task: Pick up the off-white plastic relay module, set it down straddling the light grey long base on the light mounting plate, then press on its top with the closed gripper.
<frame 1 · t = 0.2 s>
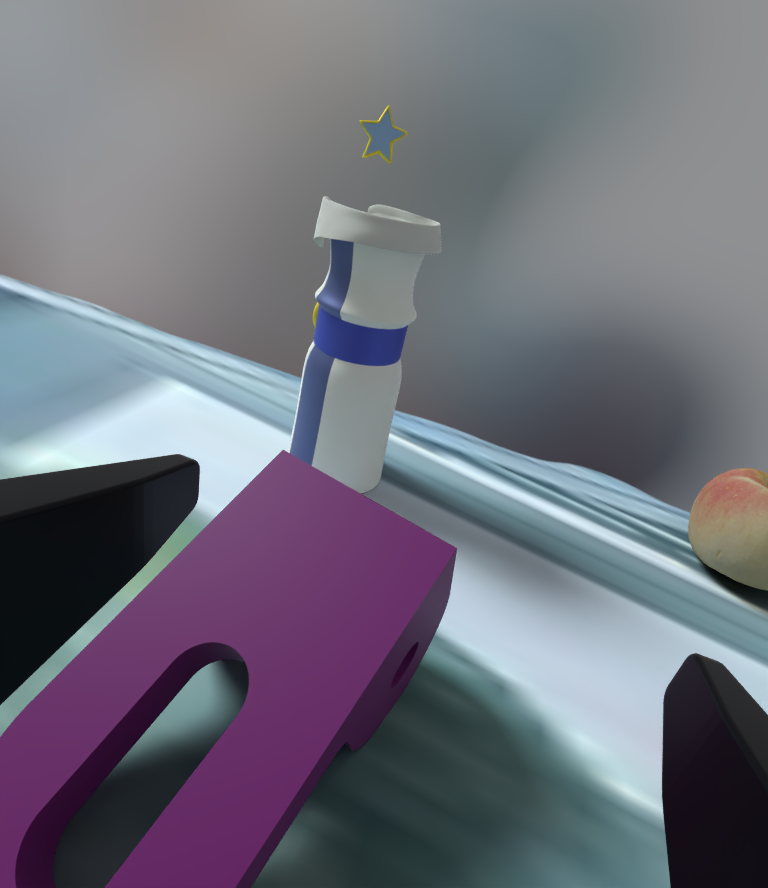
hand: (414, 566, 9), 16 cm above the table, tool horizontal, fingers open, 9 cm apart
mounting bracket: (228, 745, 22), on the table
apple: (727, 572, 41), on the table
water bottle: (330, 468, 42), on the table
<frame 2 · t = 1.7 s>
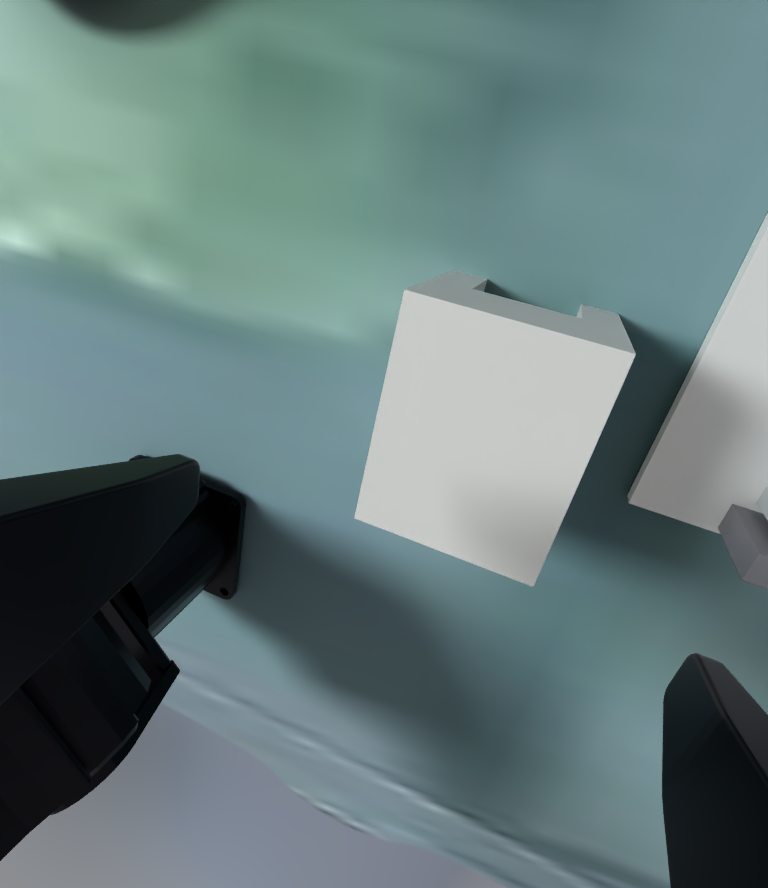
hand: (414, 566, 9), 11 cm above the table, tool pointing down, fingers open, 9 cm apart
relay module: (501, 386, 19), on the table
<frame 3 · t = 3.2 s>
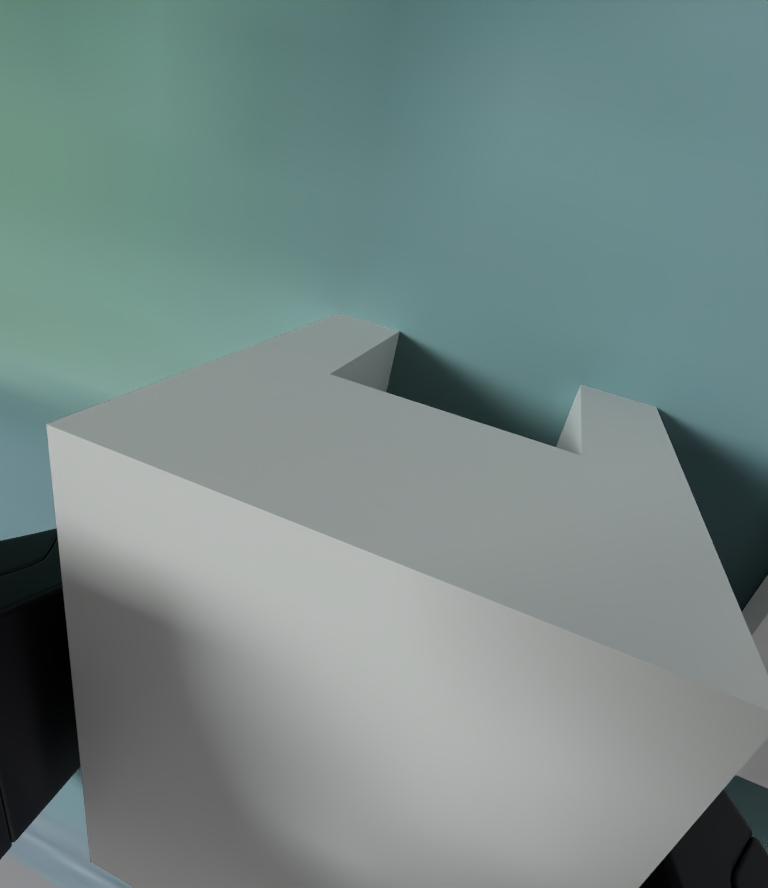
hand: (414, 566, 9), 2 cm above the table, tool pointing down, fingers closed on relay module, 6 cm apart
relay module: (436, 521, 10), on the table, touching gripper
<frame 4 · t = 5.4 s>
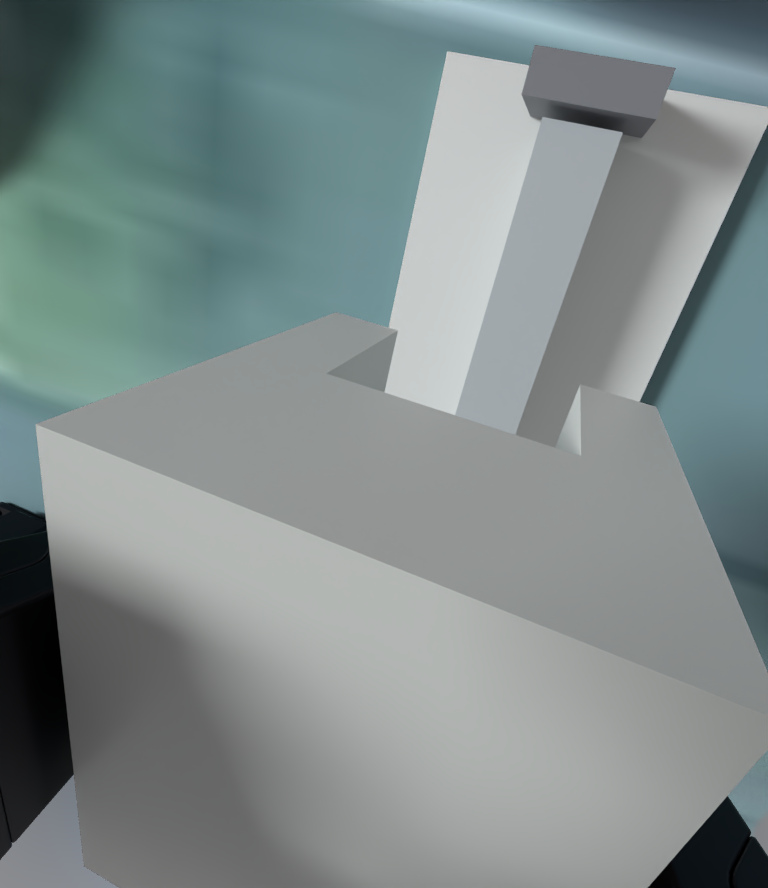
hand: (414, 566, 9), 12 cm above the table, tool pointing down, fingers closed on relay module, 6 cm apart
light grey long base: (500, 386, 19), on the table
relay module: (435, 522, 10), point 10 cm above the table, touching gripper
when the fingers open (4 cm above the table, at t = 7.6 s): relay module drops 1 cm, resting on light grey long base.
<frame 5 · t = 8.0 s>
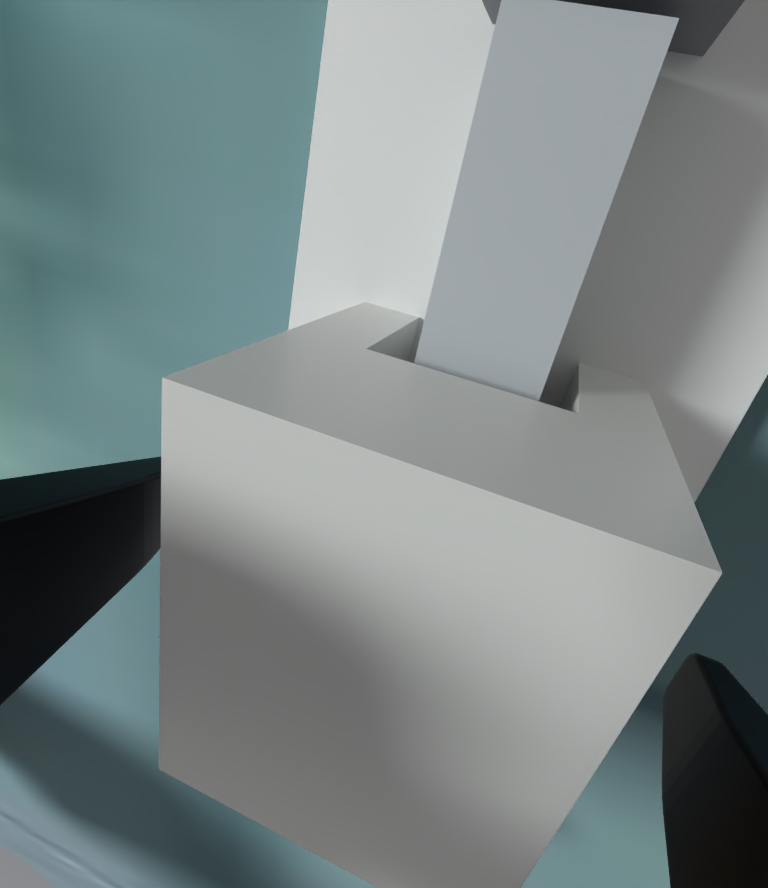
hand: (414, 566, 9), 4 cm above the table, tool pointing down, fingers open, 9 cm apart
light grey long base: (458, 478, 12), on the table
relay module: (450, 488, 12), point 1 cm above the table, touching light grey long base
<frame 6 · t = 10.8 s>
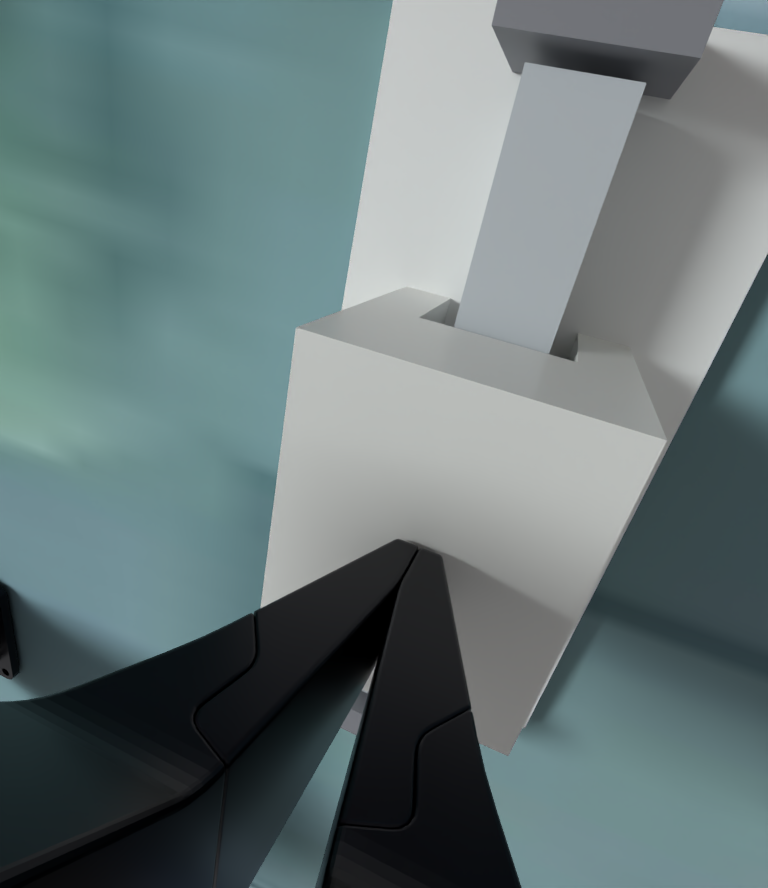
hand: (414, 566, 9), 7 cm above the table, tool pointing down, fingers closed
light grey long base: (478, 433, 15), on the table
relay module: (473, 440, 14), point 1 cm above the table, touching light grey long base
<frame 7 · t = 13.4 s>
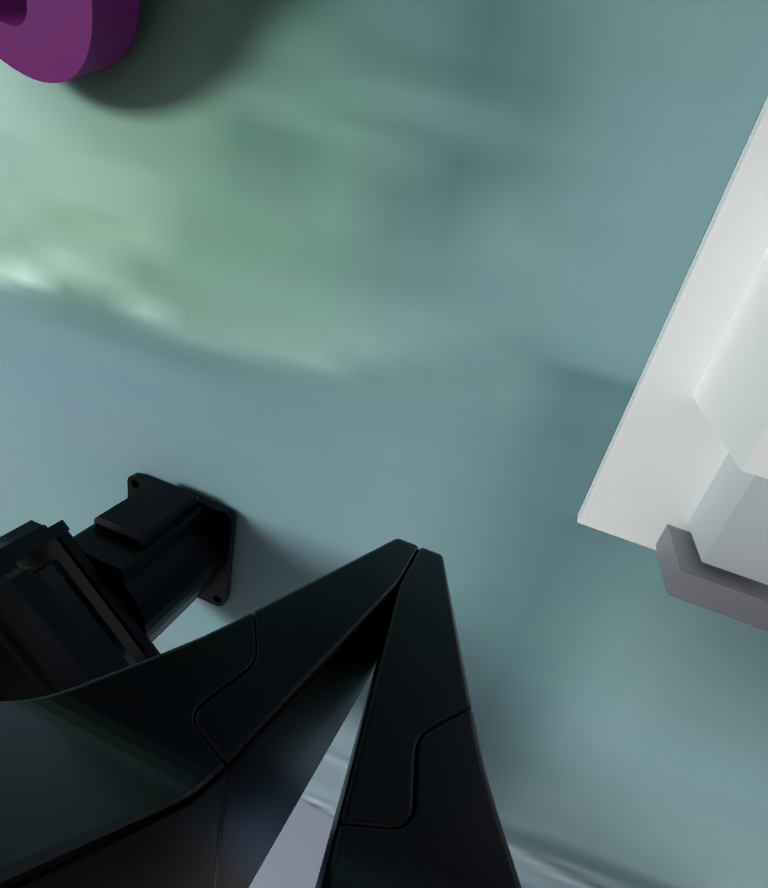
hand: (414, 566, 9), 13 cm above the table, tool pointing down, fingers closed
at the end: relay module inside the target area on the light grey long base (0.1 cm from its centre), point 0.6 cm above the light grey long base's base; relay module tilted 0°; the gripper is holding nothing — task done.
